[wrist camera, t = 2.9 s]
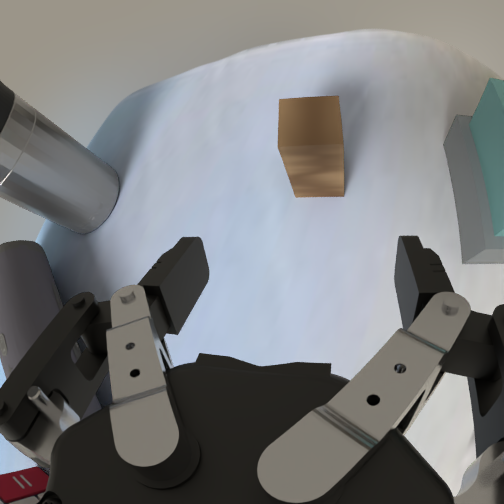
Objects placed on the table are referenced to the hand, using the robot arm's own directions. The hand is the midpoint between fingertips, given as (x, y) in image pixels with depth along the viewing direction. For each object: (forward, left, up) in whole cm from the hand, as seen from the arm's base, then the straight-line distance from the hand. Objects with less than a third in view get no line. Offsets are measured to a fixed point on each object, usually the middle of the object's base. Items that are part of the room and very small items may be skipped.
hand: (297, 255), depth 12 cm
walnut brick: (-8, +7, -14) cm, 18 cm away
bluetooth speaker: (-11, -26, -14) cm, 32 cm away
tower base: (+6, +20, -14) cm, 25 cm away
